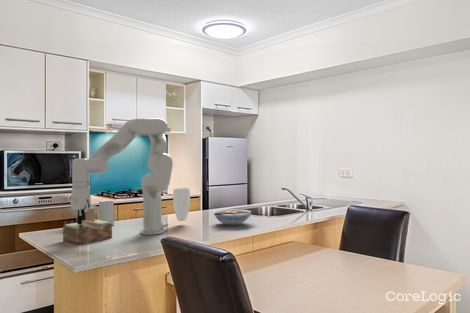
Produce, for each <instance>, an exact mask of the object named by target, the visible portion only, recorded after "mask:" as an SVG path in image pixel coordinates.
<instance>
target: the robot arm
mask: <svg viewBox="0 0 470 313" xmlns="http://www.w3.org/2000/svg"><path fill="white" fill-rule="evenodd" d="M168 125H169V124H168V123H167V121H166V120H165V119H163V118H161V117H160V118H158V117H157V118H132V119H130V120H128V121H126V122H125V123H124V124H123V125H122V126H121V127H120V128H119V129H118V130H117V132H115V134H113V135H112V137H111V138H109V140H107V141H106V142H105V143H103V145H101V146H100V147H99V148H98V149H97V150H95V152H94V153H93V154H92V155H91V156H90V157H89V158H83V157H82V158H74V159H73V160H72V162H71V163H72V165H71V167H72V168H71V170H72V172H71V173H72V179H71V180H72V184H71V185H72V186H71V187H72V188H71V194H70V208H71V209H73V210H74V211H75V212H76V214H77V217H76V223H77V224H82V221H84V220H85V215H86V212H89V208H90V207H91V205H92V203H91V202H92V197H91V190H90V189H91V184H90V182H91V181H90V180H91V178H90V177H91V174H99V175H101V174H103V173H105V172H107V171H108V169H109V163H108V162H109V161H108V160H110V159H111V158H113V157H114V156H116V155H119V154H120V153H122V152H124V150H126V149H127V147H128V146H129V145H130V144H131V143H132V142H133V141H134V140H135V139H136V138H137V137H138V136H148V137H149V140H150V149H149V154H148V158H147V159H148V160H147V166H148V168H149V170H150V171H151V170H152V171H153V172H148V173H146V174H145V175H144V176H143V177H142V179H141V189H142V199H143V200H142V203H143V204H142V205H143V206H142V208H143V210H142V213H143V214H142V218H143V220H142V223H143V224H142V226H143V227H142V229H141V230H139V233H140V234H141V235H145V236H146V235H147V236H149V235H150V236H153V235H160V234H163V233H165V232H166V231H165V229H164V228H165V227H167V228H168V226H169V223H168V222H165V223H164V222H162V211H163V210H162V202H163V201H162V199H163V198H162V194H161V193H163V192H165V191H166V190H167V189H168V188H169V185H170V181H171V178H172V171H173V167H174V166H173V165H174V163H173V159H172V157H171V156H170V154H169V153H167V148H168V147H167V146H168V143H167V138H166V136H165V133H166V132H167V131H168V128H169V126H168ZM83 208H84V209H83Z"/></svg>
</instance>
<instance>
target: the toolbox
mask: <svg viewBox="0 0 470 313" xmlns="http://www.w3.org/2000/svg"><path fill="white" fill-rule="evenodd" d="M71 223H75V222H74V220H70V224H71ZM65 224H68V221H63V226H62V242H65V243H68V244H71V245H72V244H73V245H75V246H80V245H85V244H88V243H89V244H90V243H94V242H98V241H103V240H108V239H112V238H113V225H112V224H106V225H103V229H95V228H90V227H86V228H84V229H82V225H79V229H74V228H69V227H65Z"/></svg>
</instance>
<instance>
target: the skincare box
mask: <svg viewBox="0 0 470 313" xmlns="http://www.w3.org/2000/svg"><path fill="white" fill-rule="evenodd" d="M114 201H115V200H114V199H101V200H98V214H99V215H98V216H99V220H102V221H108V222H110V224H112V226H115V211H114V210H115V207H114V205H115V204H114Z"/></svg>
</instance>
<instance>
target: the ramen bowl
mask: <svg viewBox="0 0 470 313" xmlns="http://www.w3.org/2000/svg"><path fill="white" fill-rule="evenodd" d="M212 213H213V215H214V216H215V217H214V218H215V219H216V220H217V221H219V222H220V223H222V224H225V225H226V226H238V225H240V224H243V223H244V222H246V221H247V220H248V219H249V217H251V214H252V213H253V211H251V210H247V209H240V208H239V209H236V208H235V209H234V208H232V209H218V210H215V211H213V212H212Z"/></svg>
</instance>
